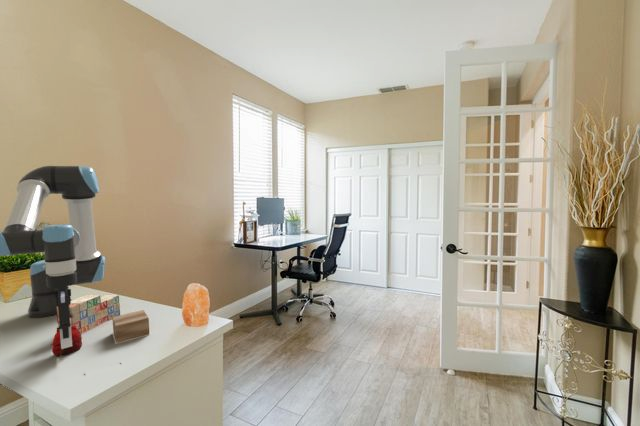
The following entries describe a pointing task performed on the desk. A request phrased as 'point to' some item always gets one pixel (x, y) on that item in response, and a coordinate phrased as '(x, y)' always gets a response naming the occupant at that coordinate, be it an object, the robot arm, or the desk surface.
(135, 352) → the desk surface
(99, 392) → the desk surface
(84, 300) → the stack of blocks
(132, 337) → the plinth
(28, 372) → the desk surface
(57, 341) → the red clay folk toy
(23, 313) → the desk surface
